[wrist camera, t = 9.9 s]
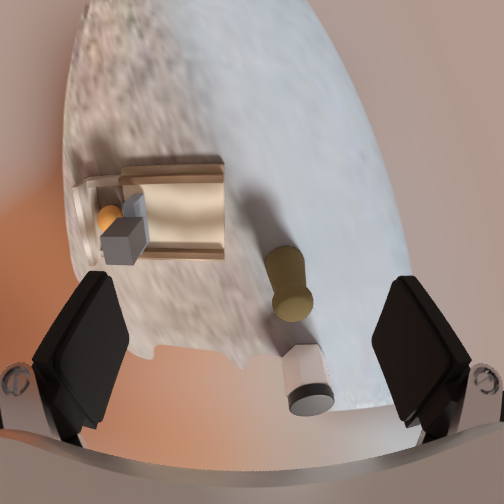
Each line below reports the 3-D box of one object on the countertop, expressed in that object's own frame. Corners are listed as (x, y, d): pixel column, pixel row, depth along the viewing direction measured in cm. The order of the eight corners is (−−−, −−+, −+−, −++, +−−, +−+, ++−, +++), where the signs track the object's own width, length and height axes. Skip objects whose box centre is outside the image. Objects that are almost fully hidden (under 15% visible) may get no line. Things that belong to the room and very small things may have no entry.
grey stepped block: (126, 194, 36) (96, 222, 28) (151, 193, 36) (125, 222, 28) (133, 239, 40) (109, 276, 32) (156, 240, 40) (136, 277, 32)
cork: (275, 240, 42) (284, 285, 33) (311, 254, 43) (328, 300, 34) (258, 272, 45) (261, 321, 35) (292, 284, 46) (303, 334, 37)
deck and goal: (88, 170, 36) (70, 180, 31) (224, 163, 36) (221, 172, 32) (103, 254, 43) (90, 271, 38) (224, 257, 43) (222, 276, 39)
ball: (108, 212, 34) (127, 202, 38) (89, 210, 35) (107, 200, 39) (113, 240, 36) (130, 228, 40) (94, 235, 37) (111, 224, 41)
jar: (304, 373, 58) (312, 420, 48) (274, 362, 56) (278, 413, 45) (332, 349, 55) (345, 398, 44) (302, 337, 52) (312, 389, 42)
